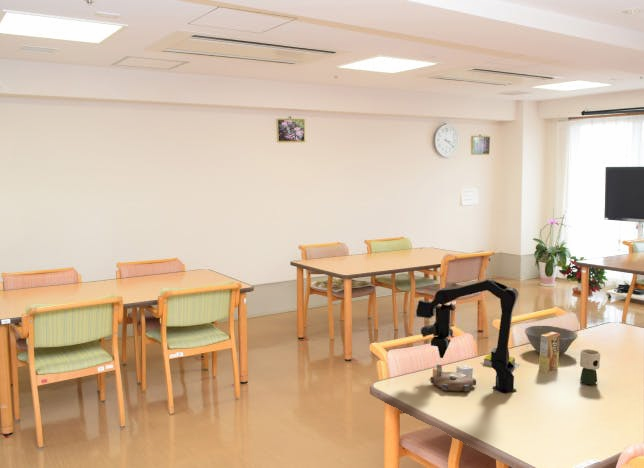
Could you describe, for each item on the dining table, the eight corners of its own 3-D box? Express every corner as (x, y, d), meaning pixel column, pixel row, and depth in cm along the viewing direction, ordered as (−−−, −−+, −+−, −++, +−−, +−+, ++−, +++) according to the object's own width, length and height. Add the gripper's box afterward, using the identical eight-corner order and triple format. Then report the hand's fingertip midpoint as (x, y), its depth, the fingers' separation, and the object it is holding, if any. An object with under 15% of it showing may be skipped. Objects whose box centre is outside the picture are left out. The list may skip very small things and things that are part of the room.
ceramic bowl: (513, 349, 286) (514, 328, 285) (549, 343, 296) (550, 323, 295) (548, 363, 266) (550, 341, 265) (586, 356, 276) (588, 335, 275)
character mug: (592, 389, 236) (594, 356, 234) (573, 384, 241) (575, 352, 239) (602, 382, 243) (605, 350, 242) (585, 377, 248) (586, 346, 247)
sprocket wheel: (483, 388, 232) (484, 372, 232) (450, 394, 226) (450, 378, 225) (455, 373, 248) (456, 359, 247) (423, 379, 241) (423, 364, 240)
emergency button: (486, 349, 272) (520, 355, 264) (486, 359, 272) (520, 365, 264) (480, 355, 264) (515, 361, 256) (479, 364, 264) (514, 371, 256)
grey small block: (472, 377, 247) (472, 368, 247) (462, 379, 245) (462, 369, 245) (466, 374, 251) (466, 365, 250) (456, 376, 249) (456, 366, 248)
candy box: (549, 365, 263) (551, 331, 261) (558, 368, 259) (560, 333, 258) (538, 370, 257) (540, 334, 255) (547, 372, 254) (549, 337, 252)
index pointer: (441, 377, 246) (441, 369, 245) (436, 378, 245) (436, 370, 244) (437, 375, 248) (437, 367, 248) (432, 376, 247) (432, 368, 247)
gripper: (426, 312, 253) (425, 349, 255) (418, 323, 236) (417, 362, 237) (453, 315, 249) (452, 352, 251) (447, 326, 232) (445, 365, 234)
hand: (441, 357), depth 243 cm, fingers closed
